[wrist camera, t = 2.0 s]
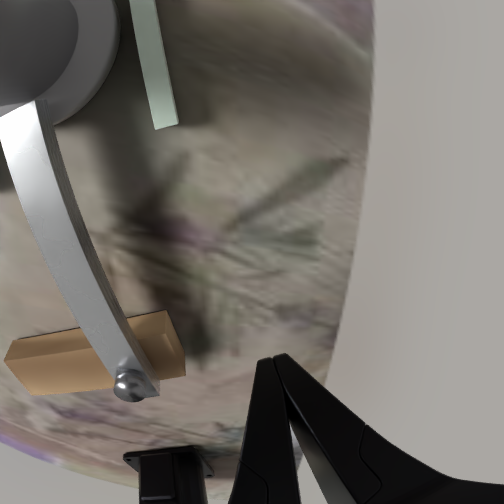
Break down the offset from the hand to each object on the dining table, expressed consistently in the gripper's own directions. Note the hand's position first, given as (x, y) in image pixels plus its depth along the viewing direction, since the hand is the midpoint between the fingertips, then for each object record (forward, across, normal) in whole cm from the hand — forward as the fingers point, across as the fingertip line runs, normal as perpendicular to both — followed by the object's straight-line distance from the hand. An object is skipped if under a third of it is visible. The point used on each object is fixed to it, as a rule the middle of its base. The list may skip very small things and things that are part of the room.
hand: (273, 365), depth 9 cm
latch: (+4, +6, -2) cm, 8 cm away
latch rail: (+6, +9, +3) cm, 11 cm away
